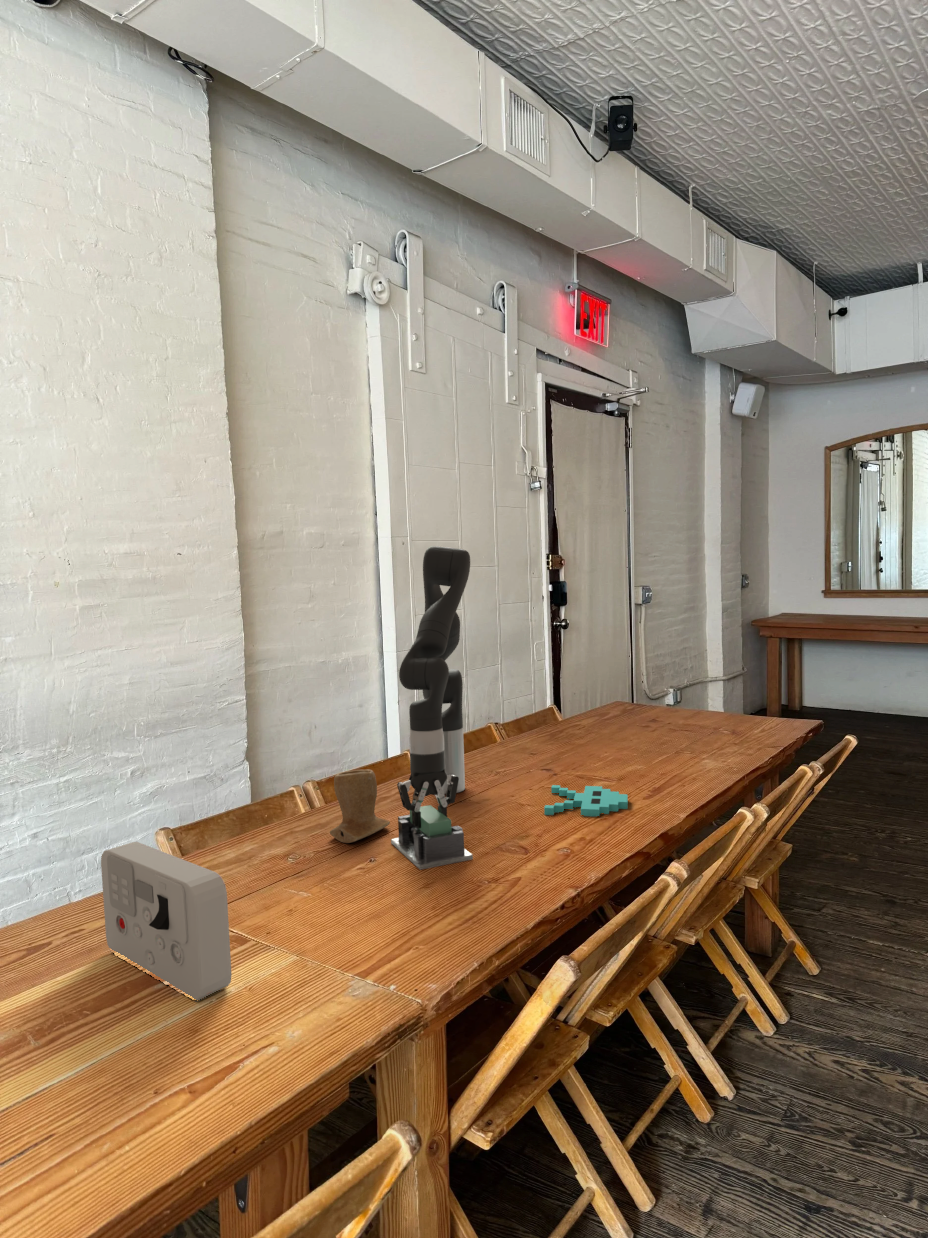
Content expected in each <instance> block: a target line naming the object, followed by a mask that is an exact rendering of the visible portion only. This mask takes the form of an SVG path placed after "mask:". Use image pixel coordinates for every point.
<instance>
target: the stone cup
mask: <svg viewBox="0 0 928 1238" xmlns="http://www.w3.org/2000/svg"><path fill="white" fill-rule="evenodd" d="M333 785H334V786H333V787H334V794H335V797H336V799H337V801H338V802H337V803H338V804H339V808H340V811H341V815H342V818H341V819H342V821H341V823H340V824H339V825H337V826H336V827H335V828H332V829H331V830H330V831H329V835H331V836H332V837H333V838H334V839H336V840H337V841H339V842H341V843H344V844H350V843H355V842H357V841H359V840H362V839H364V838H366V837H369V836H371V835H373V834H375V833H377V832H380V831H381V830H382V829H385V828H386V827H388V826H389V825H390V824H391V821H390V820H387V819H383V818H381V817H378V816H376V813H375V809H376V800H377V797H378V796H377V795H378V786H377V785H378V784H377V779H376V774H375V772H374V770H372V769H370V768H369V769H354V770H347V771H342V772H339V773H337V774H335V775H334V779H333Z"/></svg>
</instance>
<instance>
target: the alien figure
mask: <svg viewBox="0 0 928 1238" xmlns="http://www.w3.org/2000/svg"><path fill="white" fill-rule="evenodd" d="M551 793H559V794H558V797H559V796H567V797H566V800H565V799H564V802H555V803H554V804H553V805H552V804H551V805H549V804H545V805H544V810H543V811H544V812H543V813H544V814H543V815H544V816H554V814H555V813H559V812H563V811H564V812H565V810H564V809H573V810H574V808H576V807H581V808H580V816H581V815H584V816H583V817H597V816H599V817H600V814H601V813H604V814H603V815H610V812H619V810H628V806H629V805H628V804H629V803H628V801H629V799H628V794H625V793H620V791H614V790H613V791H611V788H603V786H602V785H601V786H600V785H585V787H584V791H583V792H577V790H572V789H571V790H569V787H561V784H560V785H558V784H557V785H556V784H553V785H551ZM568 798H569V799H568ZM570 799H574V800H570ZM573 807H574V808H573ZM564 812H563V813H564ZM601 815H602V814H601Z"/></svg>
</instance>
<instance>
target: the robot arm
mask: <svg viewBox="0 0 928 1238" xmlns="http://www.w3.org/2000/svg"><path fill="white" fill-rule="evenodd" d="M470 570H471V555H470V553H469V551H467V550H465V549H462V548H454V547H449V546H442V545H441V546H439V545H431V546H429V547H427V548H426V550H425V552H424V555H423V560H422V578H423V580H422V581H423V591H424V613H423V615H422V617H421V618H420V621H419V625H418V629H417V633H416V638H415V640H414V642H413V643H412V645H411V647H410V649H409V650H408V651H407V653H406V655H405V656H404V658H403V660H402V662H401V664H400V666H399V667H400V668H399V672H398V673H399V674H398V676H399V681H400V682H399V683H400V684H401V685H402V687H403V688H404V689H406V690H411V691H419V690H420V691H422V696H423V699H419V700H416V701H412V703H410V705H409V736H408V737H409V762H410V764H409V766H410V769H409V770H410V775H409V778H408V780H406V781H402V782H401V781H398V782H397V784H396V786H397V790H398V792H399V793H398V794H399V797H400V799H401V800H400V801H401V804H402V807H403V808H404V809H406V810H407V811H408V812H410V810H411V811H412V823H413V825H415V827H416V828H421V812H420V811H419V810H420V807H422V803H424V800H425V798H426V797H428V796H431V795H432V796H435V798H436V801H437V803H438V805H437V810H438V811H439V812H440V813H442V814H443V815H445V816H446V817H448V806H449V805H450V804H454V803H455V801H456V797H457V793H458V794H459V793H462V792H463V791H464V790H466V783H465V782H466V781H465V780H466V778H465V777H466V776H465V772H466V771H465V746H464V743H465V741H464V724H463V723H464V722H463V693H464V691H463V689H464V688H463V684H464V682H463V676H462V675H463V674H462V673H461V672H460V670H459V669H449V666H448V663H447V662H446V661H447V659H449V657H450V656H451V655H452V653H454V652H455V650H456V649H457V647H458V645H459V642H460V640H461V639H460V637H461V620H460V617H459V613H457V610H458V607H459V605H460V602H461V600H462V597H463V594H464V591H465V589H466V586H467V583H468V580H469V575H470ZM441 586H443V587H449V588H448V590H447V591H446V592H445V593H443V591H442V588H441ZM444 704H445V705H446V704H450V705H449V707H447V709H445V710H443V705H444ZM410 787H412V788H413V789H414V791H413V795H412V800H411V799H410V796H409V792H410Z"/></svg>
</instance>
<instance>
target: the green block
mask: <svg viewBox="0 0 928 1238" xmlns="http://www.w3.org/2000/svg"><path fill="white" fill-rule="evenodd" d="M419 811H420V812H421V828H418V829H420V830H421V831H422V832H423V833H425V834H426V835H427V836H432V835H438V834H443V833H449V832H452V828H451V827H452V819H451V818H449V817H448V816H447V817H446V816H445V815H443V814H442V813H440V812H439V811H438V809H437V808H435V807H433V805H431V804H430V805H423V806H422V805H421V807H420V810H419ZM409 815H410V822H411V823H412V811H411V810H410V811H409ZM412 824H413V823H412Z"/></svg>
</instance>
